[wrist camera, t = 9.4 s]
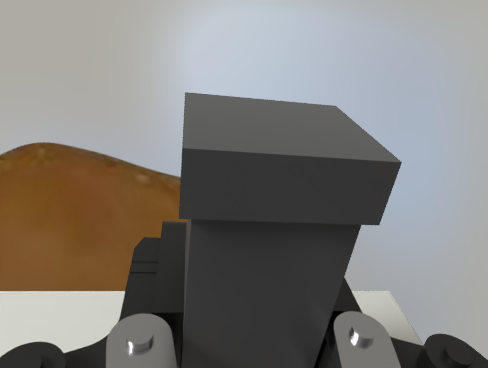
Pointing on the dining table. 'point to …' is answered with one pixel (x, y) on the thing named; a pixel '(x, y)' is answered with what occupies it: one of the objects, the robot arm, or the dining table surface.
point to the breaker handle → (271, 225)
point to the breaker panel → (109, 309)
